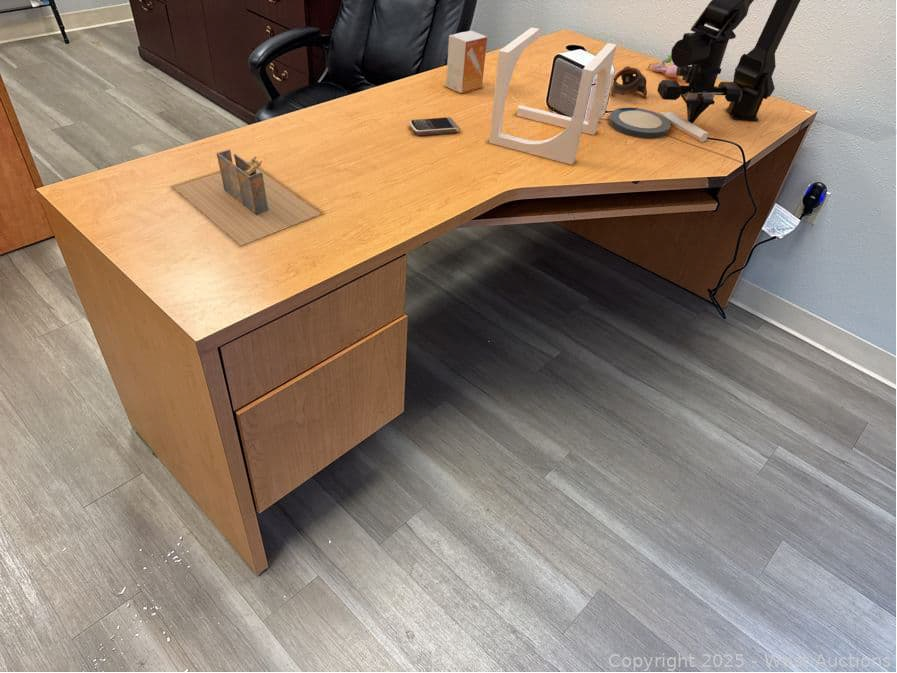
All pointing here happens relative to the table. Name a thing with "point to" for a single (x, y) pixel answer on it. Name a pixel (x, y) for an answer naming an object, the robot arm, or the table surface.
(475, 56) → the small box
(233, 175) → the architectural model on board
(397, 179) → the table surface
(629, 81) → the brown curved piece
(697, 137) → the beige long bar
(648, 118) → the plate
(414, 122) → the cell phone
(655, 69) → the pink elongated piece
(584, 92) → the white open stand
